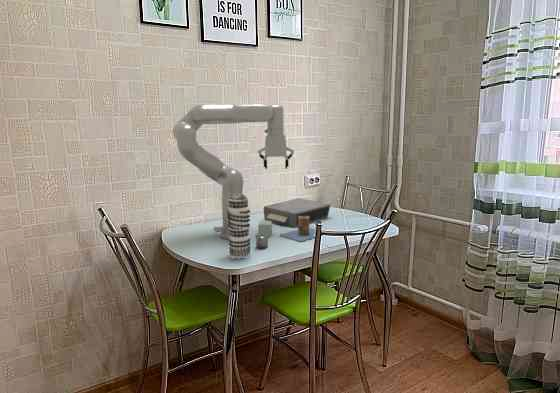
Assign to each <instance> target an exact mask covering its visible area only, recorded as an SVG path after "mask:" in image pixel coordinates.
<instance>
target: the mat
mask: <svg viewBox="0 0 560 393" xmlns="http://www.w3.org/2000/svg"><path fill="white" fill-rule="evenodd" d="M315 230H316V229H315V228H311V227H309V235H298V229H295V230H292V231H288V232H284V233H280V234H279V237H282V238H285V239H288V240H291V239H292V240H291V241H294V240H295V242H297V241H298V243H300V242H301V243H303V241H304V242H307V241H306V240H308V241H310V240H309V239H311V240H313V239H312V238H314V234H315ZM314 239H315V238H314Z"/></svg>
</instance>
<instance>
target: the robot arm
mask: <svg viewBox="0 0 560 393" xmlns="http://www.w3.org/2000/svg"><path fill="white" fill-rule="evenodd" d="M265 122H267V123H266V126H267V128H266V129H264V130H263V131H264V133H266V135H265V139H264V141H265V142H264V147H262V148H261V149H259V150H258V151H257V153H258V156H259V158H261V160H262V161H263V168H264V169H265V170H266V169H267V168H268V160H267V158H268V157H269V158H270V157H272V158H273V157H274V158H275V157H276V158H278V157H284V158H285V160H284V161H285V164H284V165H285V169H286V170H288V167H289V160H291V158H292V157H293V155H294V153H295V150H293V149H292V148H290V147H287V138H286V134H284V133H285V132H284V130H285V129H284V128H285V127H284V106H283V105H279V104H272V105H267V104H237V103H236V104H235V103H216V104H215V103H213V104H212V103H211V104H210V103H207V104H206V103H205V104H203V103H202V104H196V105H194V106H192V107H191V109H190V110H188V112H187V113H186V114H185V115H183V117H182V118H180V120H179V121H178V122H177V123H176V124H175V125H174V127H173V128H172V135H173V138H174V139H175V140H176V145H177V149H178V151H179V153H180V155H181V156H182V158H183V159H184V160H186V161H187V162H189V163H190V164H192V165H193V166H194V167H196V168H197V169H198V170H199V172H201V173H202V174H203V175H205V176H206V177H208V178H209V179H211V180H212V181H214V182H215V183H217V184H218V185H220V186H221V187H222V189H221V210H222V211H221V212H222V214H221V215H222V225H221V226H213V231H214V232H215V233H219V237H220V238H222V239H225V240H226V239H227V240H229V239H230V229H229V226H228V224H229V223H228V220H229V219H228V217H227V216H228V214H227V211H229V200H228V199H229V198H230V196H231V195H234V194H243V192H244V191H243V190H244V189H243V188H244V177H243V174H242V173H241V172H240V171H239V170H238V169H235V168H233V167H230V166H229V165H227V164H226V163H224V162H223V161H222V160H221V159H220V158H219V157H217V156H216V155H214V154H212V153H210V152H209V151H208V150H206V149H205V148H204V147H202V146H201V145H200V144H198V141H197V131H198V130H199V129H200V128H201V127H202V126H203V125H221V124H222V125H223V124H226V125H227V124H228V125H229V124H242V123H265ZM287 151H288V152H290V154H288V155H287ZM262 152H264V155H265V156H264V155H263V154H262ZM229 213H230V212H229Z"/></svg>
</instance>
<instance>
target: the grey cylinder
mask: <svg viewBox="0 0 560 393" xmlns="http://www.w3.org/2000/svg"><path fill="white" fill-rule="evenodd" d="M268 239H269V237H268V236H267V235H258V234H257V235H256V236H255V248H256V249H257V250H267V249H268V248H269V242H268V241H269V240H268ZM266 248H267V249H266Z"/></svg>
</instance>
